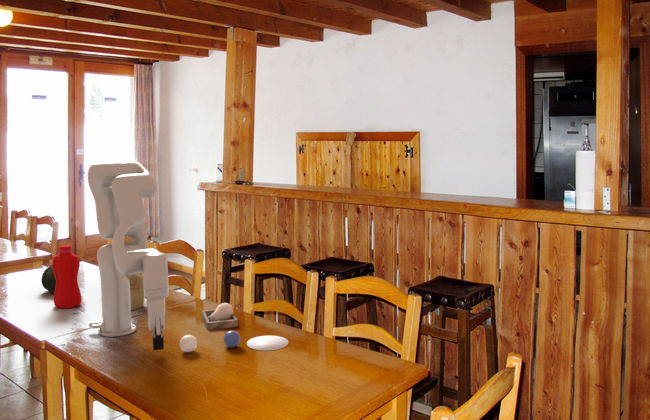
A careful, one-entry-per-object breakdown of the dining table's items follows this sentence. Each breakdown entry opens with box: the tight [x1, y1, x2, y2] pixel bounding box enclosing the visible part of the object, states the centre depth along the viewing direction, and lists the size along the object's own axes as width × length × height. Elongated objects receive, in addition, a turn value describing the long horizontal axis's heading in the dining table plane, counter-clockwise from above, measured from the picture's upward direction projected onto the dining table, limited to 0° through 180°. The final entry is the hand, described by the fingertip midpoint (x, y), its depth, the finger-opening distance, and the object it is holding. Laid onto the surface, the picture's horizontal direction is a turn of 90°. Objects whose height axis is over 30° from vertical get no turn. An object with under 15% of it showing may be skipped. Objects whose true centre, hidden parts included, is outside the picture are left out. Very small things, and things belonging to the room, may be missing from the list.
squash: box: [41, 264, 56, 295], centre depth 262 cm, size 14×15×15 cm
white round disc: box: [246, 335, 290, 352], centre depth 198 cm, size 14×14×1 cm
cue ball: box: [179, 334, 198, 353], centre depth 189 cm, size 6×6×6 cm
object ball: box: [223, 330, 241, 348], centre depth 194 cm, size 6×6×6 cm
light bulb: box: [207, 302, 234, 322], centre depth 220 cm, size 7×7×11 cm
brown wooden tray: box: [201, 308, 239, 331], centre depth 220 cm, size 11×16×2 cm
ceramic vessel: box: [126, 273, 145, 311], centre depth 237 cm, size 17×20×25 cm
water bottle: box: [51, 244, 82, 310], centre depth 239 cm, size 9×11×25 cm
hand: (158, 348), depth 186 cm, fingers closed
